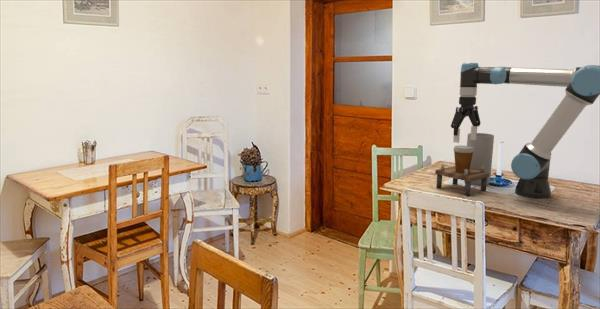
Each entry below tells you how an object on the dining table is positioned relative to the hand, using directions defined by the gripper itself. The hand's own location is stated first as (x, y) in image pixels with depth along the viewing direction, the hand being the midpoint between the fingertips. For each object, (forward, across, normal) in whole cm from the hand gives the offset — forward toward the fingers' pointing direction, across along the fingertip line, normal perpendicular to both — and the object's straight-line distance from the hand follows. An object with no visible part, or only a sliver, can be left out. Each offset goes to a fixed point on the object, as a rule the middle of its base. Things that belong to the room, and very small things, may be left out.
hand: (464, 141), depth 226 cm
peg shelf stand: (+24, 0, 0) cm, 24 cm away
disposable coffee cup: (+15, 0, 0) cm, 15 cm away
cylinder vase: (+24, -18, -4) cm, 30 cm away
